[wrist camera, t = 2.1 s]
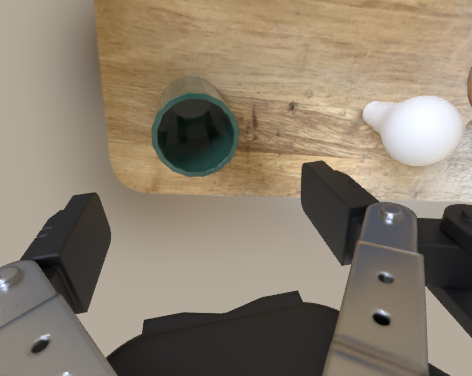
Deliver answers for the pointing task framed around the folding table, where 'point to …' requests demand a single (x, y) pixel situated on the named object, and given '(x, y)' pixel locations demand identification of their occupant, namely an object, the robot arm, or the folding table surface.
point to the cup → (194, 128)
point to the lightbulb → (416, 128)
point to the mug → (470, 87)
